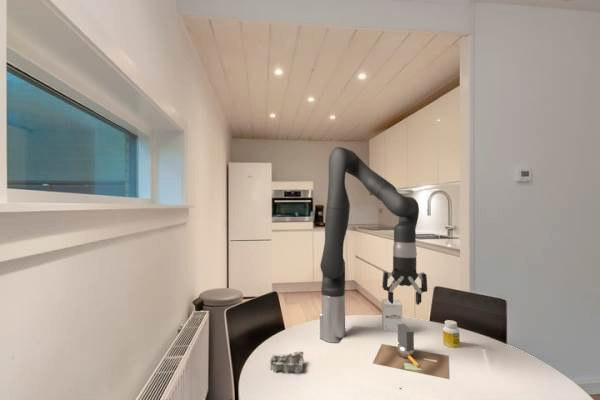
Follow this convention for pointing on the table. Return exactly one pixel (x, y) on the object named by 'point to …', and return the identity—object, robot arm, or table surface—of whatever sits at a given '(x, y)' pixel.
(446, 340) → the supplement bottle
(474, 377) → the table surface
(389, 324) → the supplement box
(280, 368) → the egg carton
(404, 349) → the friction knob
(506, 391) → the table surface
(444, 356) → the brown flat board
